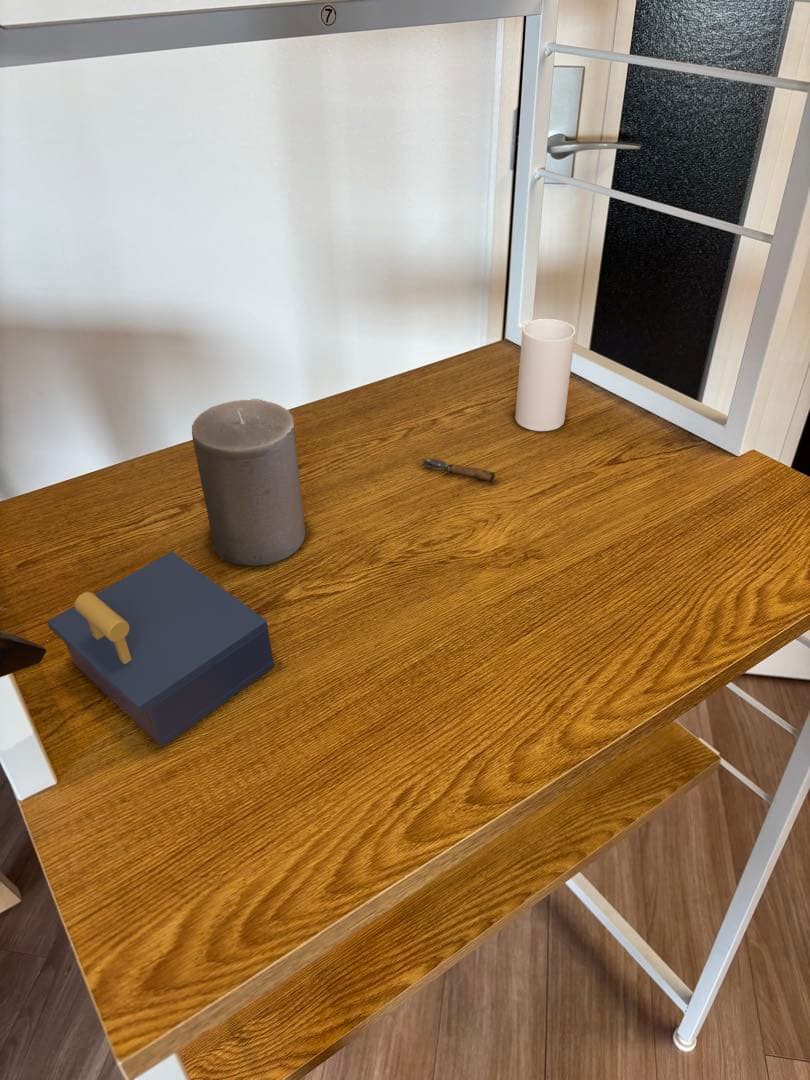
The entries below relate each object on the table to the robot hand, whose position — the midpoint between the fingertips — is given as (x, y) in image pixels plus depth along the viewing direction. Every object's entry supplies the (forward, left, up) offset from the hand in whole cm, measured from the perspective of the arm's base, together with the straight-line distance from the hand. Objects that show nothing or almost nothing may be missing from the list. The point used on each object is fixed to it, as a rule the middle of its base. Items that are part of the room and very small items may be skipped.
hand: (11, 621), depth 58 cm
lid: (+10, -2, -8) cm, 14 cm away
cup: (+66, -12, -14) cm, 68 cm away
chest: (+11, -2, -13) cm, 17 cm away
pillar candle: (+29, +3, -14) cm, 32 cm away
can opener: (+50, -9, -13) cm, 52 cm away
